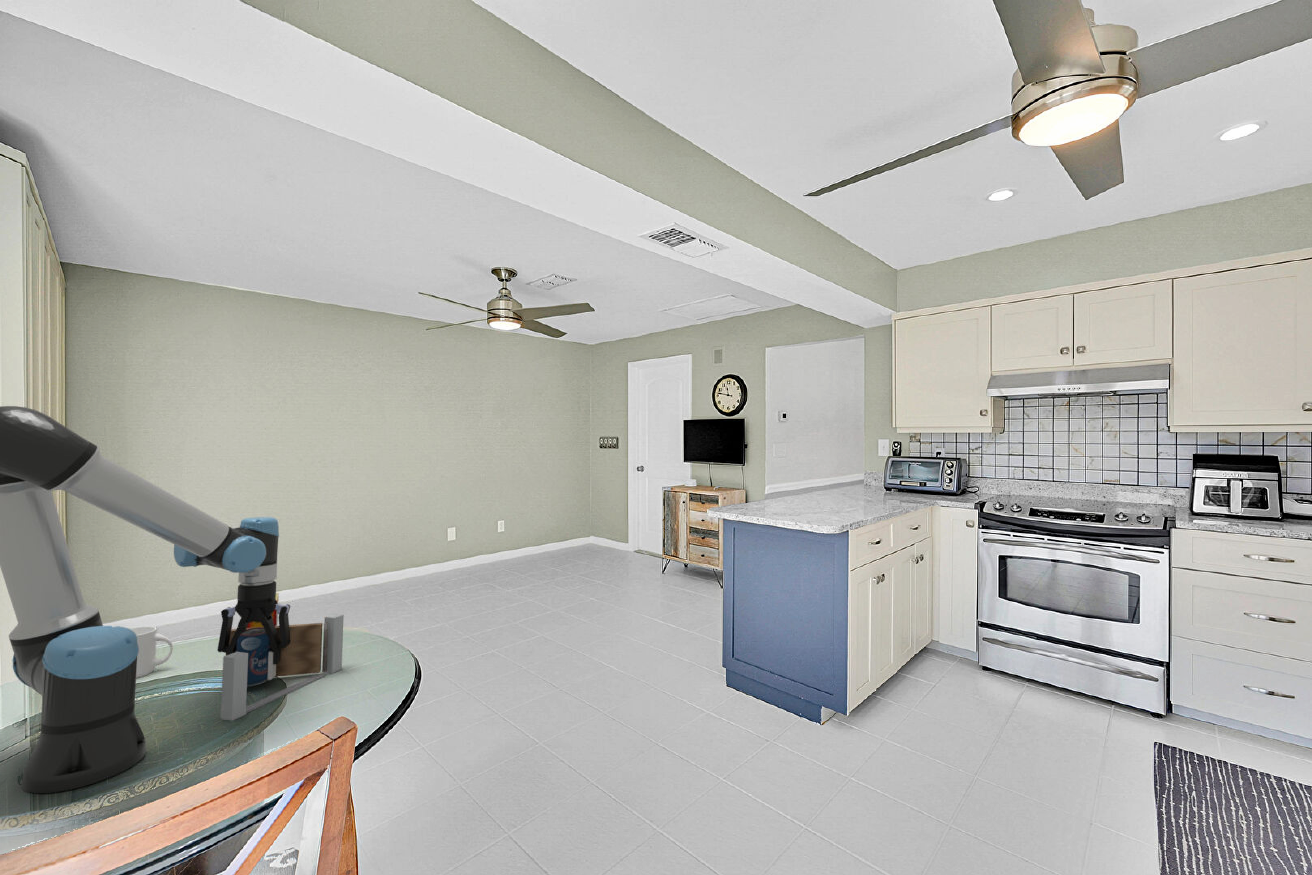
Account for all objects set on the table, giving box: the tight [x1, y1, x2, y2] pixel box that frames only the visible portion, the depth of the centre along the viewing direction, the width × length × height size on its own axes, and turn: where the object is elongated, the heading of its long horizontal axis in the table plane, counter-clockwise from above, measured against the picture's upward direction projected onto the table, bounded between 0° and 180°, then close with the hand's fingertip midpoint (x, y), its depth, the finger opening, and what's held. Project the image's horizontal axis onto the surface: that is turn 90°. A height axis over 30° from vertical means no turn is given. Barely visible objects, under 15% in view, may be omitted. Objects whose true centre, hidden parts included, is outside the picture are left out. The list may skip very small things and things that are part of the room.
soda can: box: [236, 627, 272, 687], centre depth 131 cm, size 7×7×12 cm
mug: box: [127, 625, 174, 679], centre depth 138 cm, size 9×12×11 cm
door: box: [225, 622, 328, 678], centre depth 137 cm, size 22×3×12 cm, turn 108°
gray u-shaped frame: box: [220, 613, 345, 722], centre depth 129 cm, size 29×3×14 cm, turn 166°
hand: (253, 678), depth 131 cm, fingers closed on soda can, 7 cm apart
